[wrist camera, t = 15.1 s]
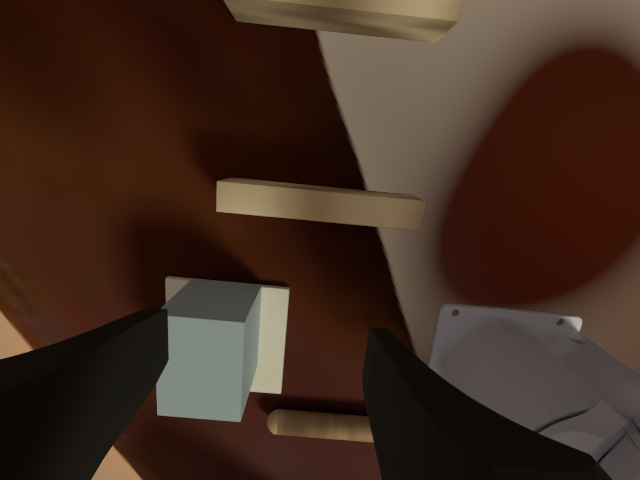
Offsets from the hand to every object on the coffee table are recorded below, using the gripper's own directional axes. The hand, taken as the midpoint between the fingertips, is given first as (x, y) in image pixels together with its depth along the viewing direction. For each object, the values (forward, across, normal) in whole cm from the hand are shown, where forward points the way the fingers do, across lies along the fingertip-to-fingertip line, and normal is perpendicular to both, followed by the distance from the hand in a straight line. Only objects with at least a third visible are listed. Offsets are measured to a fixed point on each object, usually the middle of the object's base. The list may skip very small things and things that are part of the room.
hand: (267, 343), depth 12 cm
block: (+10, +4, +5) cm, 11 cm away
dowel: (+10, -5, +12) cm, 16 cm away
